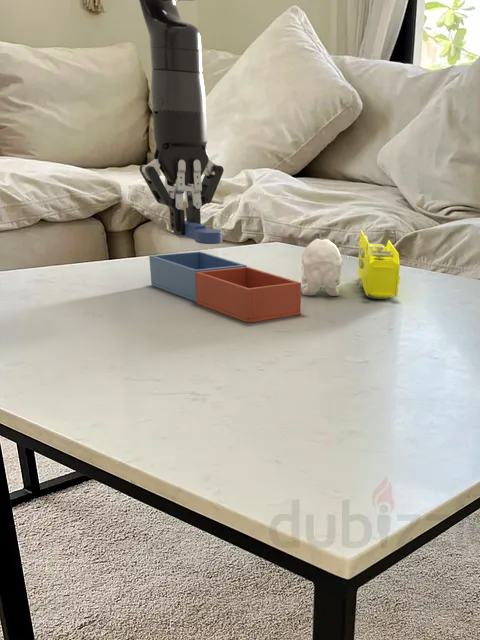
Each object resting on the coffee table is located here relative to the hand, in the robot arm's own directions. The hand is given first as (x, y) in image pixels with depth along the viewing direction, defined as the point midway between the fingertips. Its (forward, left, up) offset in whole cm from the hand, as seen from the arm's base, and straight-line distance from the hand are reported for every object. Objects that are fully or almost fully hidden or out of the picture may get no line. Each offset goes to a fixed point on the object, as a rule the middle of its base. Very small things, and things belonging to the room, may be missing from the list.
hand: (186, 233), depth 120 cm
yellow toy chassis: (+25, -17, -8) cm, 31 cm away
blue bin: (0, -3, -8) cm, 8 cm away
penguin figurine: (+16, -13, -8) cm, 22 cm away
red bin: (-1, -17, -8) cm, 18 cm away
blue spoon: (0, -3, 0) cm, 3 cm away
